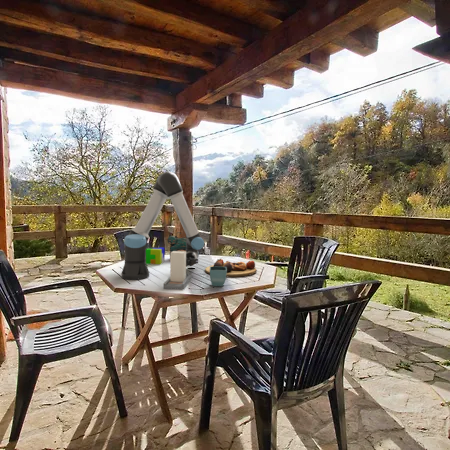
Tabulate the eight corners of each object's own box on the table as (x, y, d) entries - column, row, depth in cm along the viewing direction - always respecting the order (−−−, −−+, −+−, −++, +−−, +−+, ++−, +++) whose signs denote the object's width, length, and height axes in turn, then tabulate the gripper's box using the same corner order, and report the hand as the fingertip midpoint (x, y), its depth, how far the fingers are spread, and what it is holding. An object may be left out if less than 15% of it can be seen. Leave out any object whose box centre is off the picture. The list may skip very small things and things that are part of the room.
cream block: (170, 281, 164) (170, 252, 163) (173, 278, 170) (173, 251, 169) (183, 282, 164) (183, 253, 162) (185, 279, 169) (186, 251, 168)
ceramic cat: (167, 259, 233) (167, 232, 231) (169, 257, 239) (169, 231, 237) (193, 260, 230) (193, 232, 229) (195, 258, 237) (195, 232, 235)
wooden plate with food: (261, 268, 208) (261, 256, 207) (249, 279, 177) (249, 265, 177) (215, 265, 217) (215, 253, 217) (196, 275, 187) (196, 261, 187)
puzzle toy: (164, 261, 224) (164, 247, 223) (160, 264, 214) (160, 249, 213) (150, 261, 225) (150, 247, 224) (145, 263, 215) (145, 249, 214)
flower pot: (226, 283, 169) (226, 266, 169) (226, 287, 161) (227, 270, 160) (209, 282, 169) (209, 266, 168) (209, 287, 160) (209, 270, 160)
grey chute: (163, 288, 157) (163, 283, 156) (174, 276, 180) (174, 272, 180) (183, 289, 156) (184, 284, 156) (192, 277, 180) (192, 272, 180)
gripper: (200, 264, 193) (194, 273, 169) (178, 264, 193) (170, 273, 170) (200, 252, 192) (194, 259, 169) (178, 251, 193) (170, 259, 169)
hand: (182, 266), depth 169 cm, fingers closed
